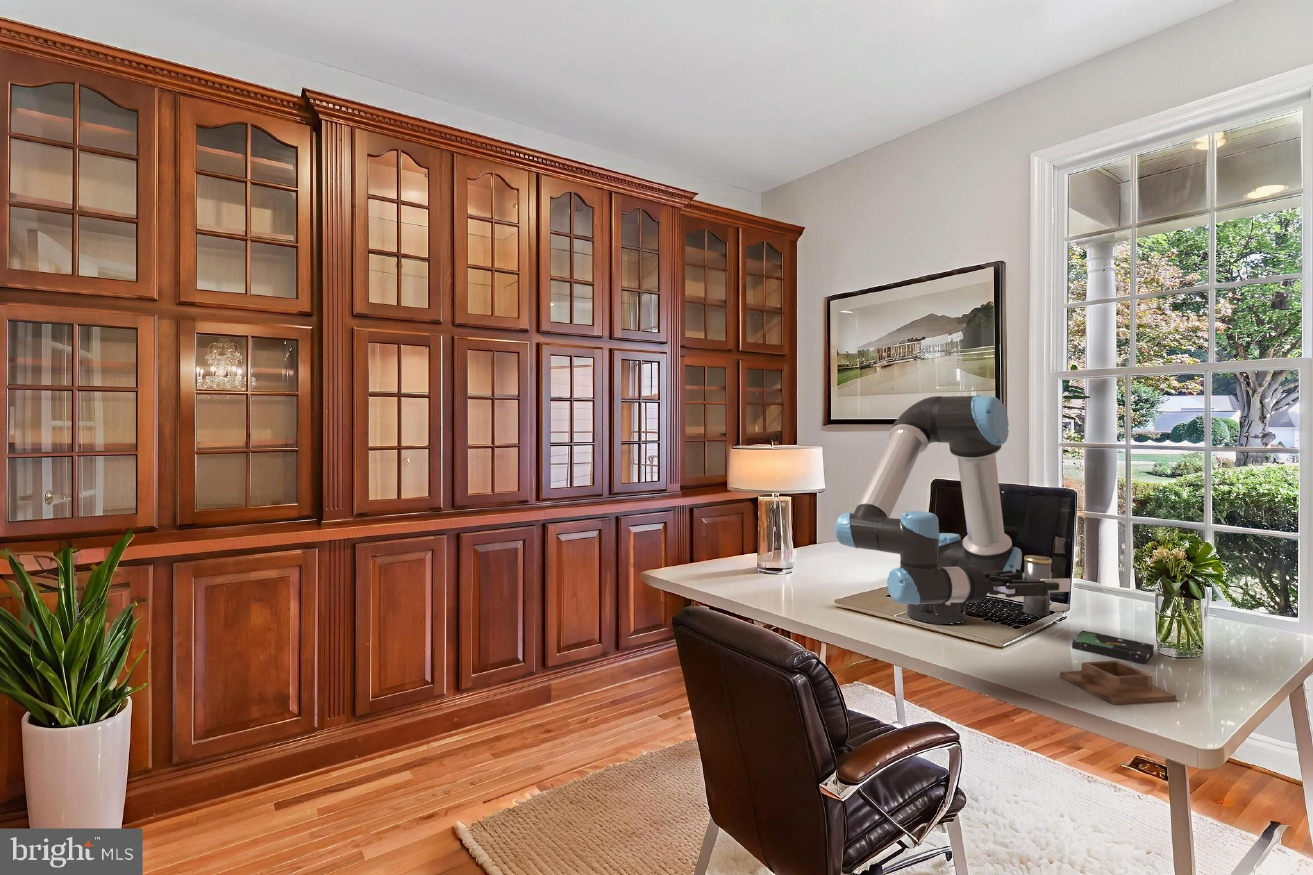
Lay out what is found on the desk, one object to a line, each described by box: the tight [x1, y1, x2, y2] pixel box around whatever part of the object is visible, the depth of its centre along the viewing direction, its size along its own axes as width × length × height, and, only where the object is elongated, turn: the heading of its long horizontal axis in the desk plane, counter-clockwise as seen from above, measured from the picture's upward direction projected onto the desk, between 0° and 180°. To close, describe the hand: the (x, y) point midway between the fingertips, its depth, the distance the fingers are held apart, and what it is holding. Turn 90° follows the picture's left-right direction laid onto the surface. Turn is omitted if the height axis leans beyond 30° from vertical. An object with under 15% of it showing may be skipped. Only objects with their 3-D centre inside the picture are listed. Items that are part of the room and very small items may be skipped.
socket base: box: [1059, 660, 1177, 706], centre depth 139 cm, size 14×14×4 cm
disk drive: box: [1071, 630, 1155, 666], centre depth 161 cm, size 10×3×15 cm
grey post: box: [1022, 554, 1053, 617], centre depth 146 cm, size 5×5×12 cm
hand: (1059, 581), depth 147 cm, fingers closed on grey post, 5 cm apart
